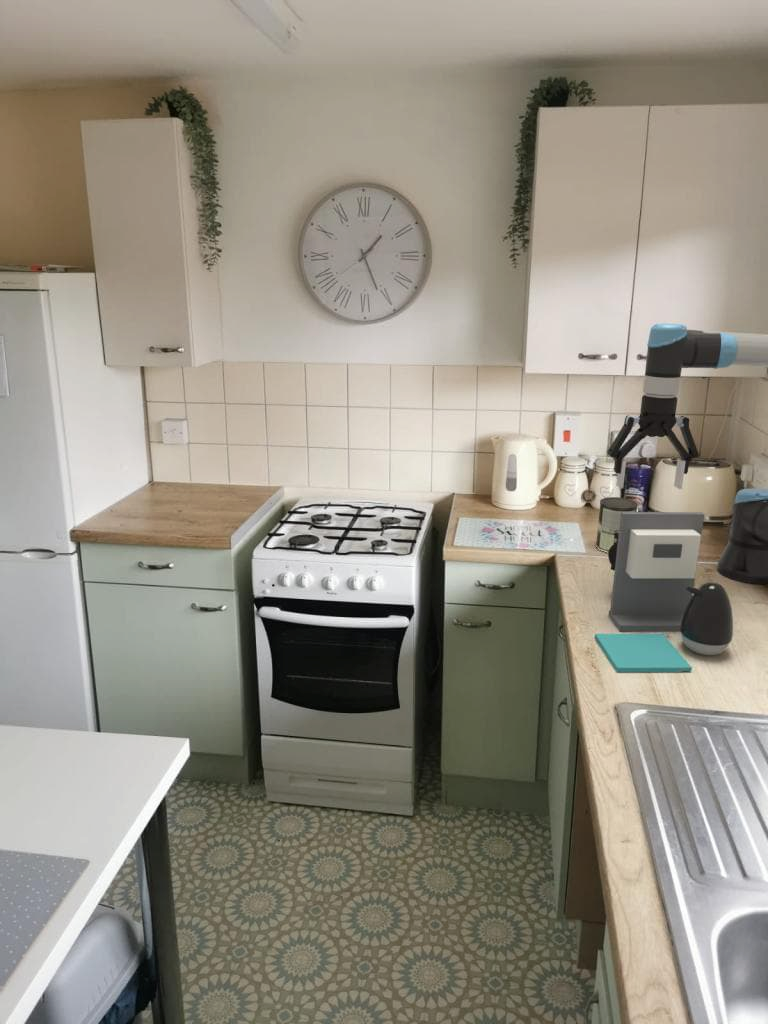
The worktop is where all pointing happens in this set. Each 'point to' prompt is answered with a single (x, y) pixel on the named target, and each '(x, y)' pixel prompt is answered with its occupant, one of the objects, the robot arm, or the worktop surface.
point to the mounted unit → (654, 570)
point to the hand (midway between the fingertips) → (648, 487)
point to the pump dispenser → (707, 620)
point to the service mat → (642, 653)
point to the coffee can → (611, 519)
